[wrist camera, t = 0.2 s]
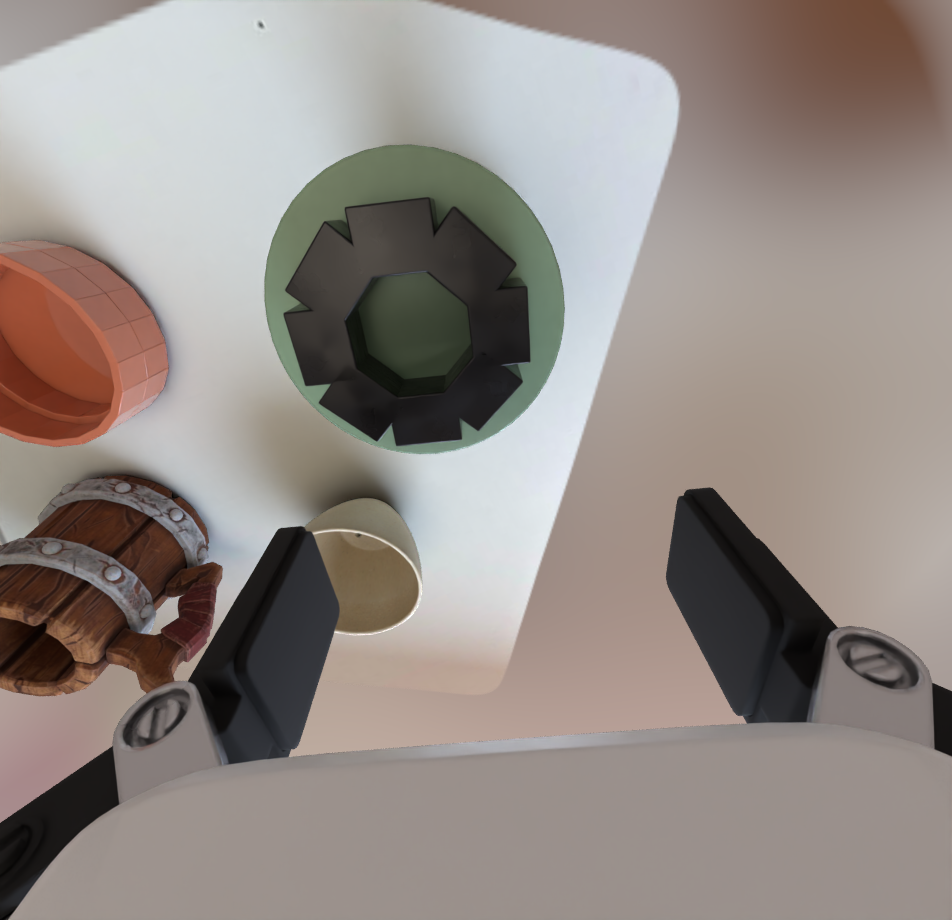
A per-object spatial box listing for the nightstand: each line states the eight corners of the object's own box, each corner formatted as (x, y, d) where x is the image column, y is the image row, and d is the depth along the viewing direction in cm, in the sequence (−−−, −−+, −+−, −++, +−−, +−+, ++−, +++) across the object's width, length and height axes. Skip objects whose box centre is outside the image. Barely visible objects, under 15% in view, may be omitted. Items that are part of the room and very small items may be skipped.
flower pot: (390, 451, 33) (373, 507, 27) (450, 544, 38) (447, 610, 31) (281, 498, 35) (241, 561, 29) (351, 581, 40) (329, 651, 33)
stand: (338, 187, 25) (213, 166, 13) (516, 165, 24) (564, 122, 12) (376, 360, 30) (313, 466, 18) (524, 345, 29) (565, 442, 17)
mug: (36, 445, 32) (-178, 616, 20) (251, 478, 37) (187, 633, 24) (56, 561, 37) (-103, 752, 25) (241, 577, 42) (183, 745, 30)
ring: (277, 216, 13) (251, 217, 12) (516, 188, 13) (523, 185, 11) (338, 431, 17) (325, 454, 15) (527, 412, 17) (534, 433, 15)
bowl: (-58, 251, 26) (-164, 260, 22) (121, 230, 26) (51, 234, 21) (49, 420, 31) (-17, 454, 27) (199, 405, 31) (156, 437, 27)
